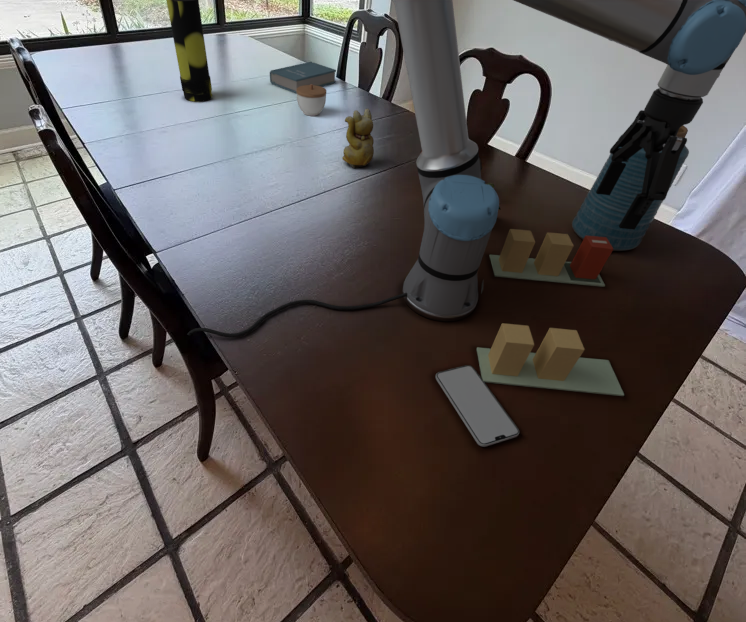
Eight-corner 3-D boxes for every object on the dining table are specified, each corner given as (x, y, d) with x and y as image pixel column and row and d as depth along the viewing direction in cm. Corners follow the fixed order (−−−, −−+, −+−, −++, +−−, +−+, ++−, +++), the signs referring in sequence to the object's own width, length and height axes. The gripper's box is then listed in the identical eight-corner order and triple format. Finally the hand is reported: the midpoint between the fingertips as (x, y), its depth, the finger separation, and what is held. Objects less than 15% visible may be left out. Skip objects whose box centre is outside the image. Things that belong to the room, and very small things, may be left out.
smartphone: (471, 363, 77) (522, 433, 67) (470, 366, 78) (520, 435, 68) (433, 373, 75) (481, 446, 65) (433, 375, 76) (479, 448, 66)
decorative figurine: (361, 155, 137) (365, 103, 127) (379, 165, 133) (386, 112, 123) (338, 163, 133) (340, 110, 122) (357, 173, 129) (361, 119, 118)
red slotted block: (575, 277, 97) (592, 246, 91) (569, 265, 100) (585, 234, 94) (595, 279, 97) (613, 248, 91) (589, 267, 100) (606, 236, 94)
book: (296, 93, 176) (296, 79, 172) (270, 83, 183) (269, 69, 179) (335, 83, 188) (336, 69, 184) (309, 74, 195) (309, 61, 191)
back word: (494, 276, 97) (507, 244, 91) (489, 255, 102) (500, 223, 96) (604, 286, 96) (624, 254, 90) (592, 265, 102) (610, 233, 96)
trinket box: (310, 105, 167) (310, 78, 160) (331, 113, 162) (332, 85, 155) (290, 112, 161) (289, 83, 154) (312, 120, 156) (312, 91, 149)
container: (219, 97, 167) (205, -1, 146) (196, 104, 161) (179, 2, 140) (200, 91, 172) (185, -6, 150) (177, 97, 166) (158, -3, 144)
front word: (482, 382, 75) (497, 348, 69) (476, 348, 81) (489, 314, 75) (623, 396, 75) (650, 363, 69) (607, 361, 80) (631, 328, 74)
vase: (651, 254, 106) (726, 141, 87) (587, 253, 105) (649, 139, 86) (617, 218, 118) (677, 112, 98) (559, 218, 116) (608, 110, 97)
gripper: (745, 122, 64) (659, 246, 79) (669, 73, 81) (611, 183, 96) (693, 117, 64) (617, 242, 79) (629, 69, 81) (577, 179, 96)
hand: (613, 210), depth 88 cm, fingers open, 13 cm apart
